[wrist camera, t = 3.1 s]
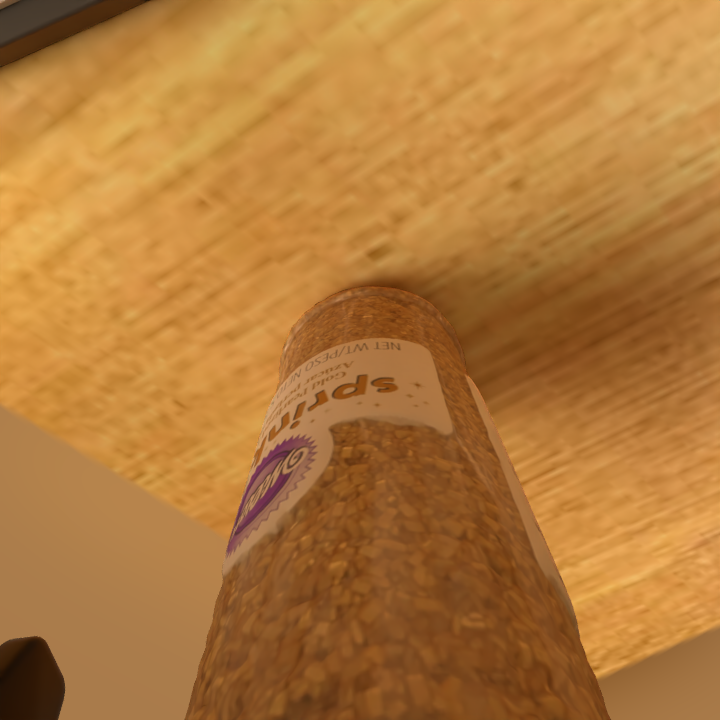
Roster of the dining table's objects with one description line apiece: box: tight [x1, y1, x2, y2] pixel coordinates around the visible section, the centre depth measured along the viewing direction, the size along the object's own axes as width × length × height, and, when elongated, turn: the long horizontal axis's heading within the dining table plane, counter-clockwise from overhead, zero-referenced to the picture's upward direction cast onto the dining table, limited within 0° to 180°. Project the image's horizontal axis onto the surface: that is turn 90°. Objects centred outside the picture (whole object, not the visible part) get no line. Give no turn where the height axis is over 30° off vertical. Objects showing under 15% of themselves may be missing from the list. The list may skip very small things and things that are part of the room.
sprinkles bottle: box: [185, 286, 611, 720], centre depth 8 cm, size 5×5×13 cm
